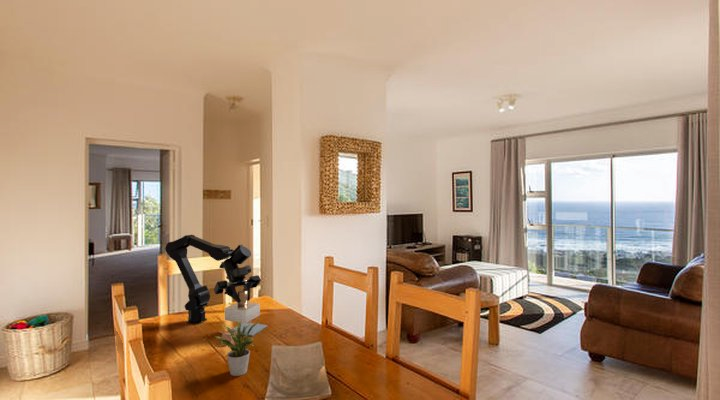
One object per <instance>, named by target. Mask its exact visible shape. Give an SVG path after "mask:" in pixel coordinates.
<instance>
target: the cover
mask: <svg viewBox="0 0 720 400" xmlns="http://www.w3.org/2000/svg"><path fill="white" fill-rule="evenodd" d="M237 294H238V297H239V300H240V303H238V302H235V303H233V304H231V305H228V306H226V307H224V321H226V322H227V321H229V322H236V323H238V322H239V320H240V322H241V324H242V323H249V322H250V321H252V320H253V319H255V318H258V317H259V316H260V315H261V314H260V313H261V304H260V303H257V302H251V301H248V291H247V290H243V289H242V290H241V289H240V290H238V291H237Z"/></svg>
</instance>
